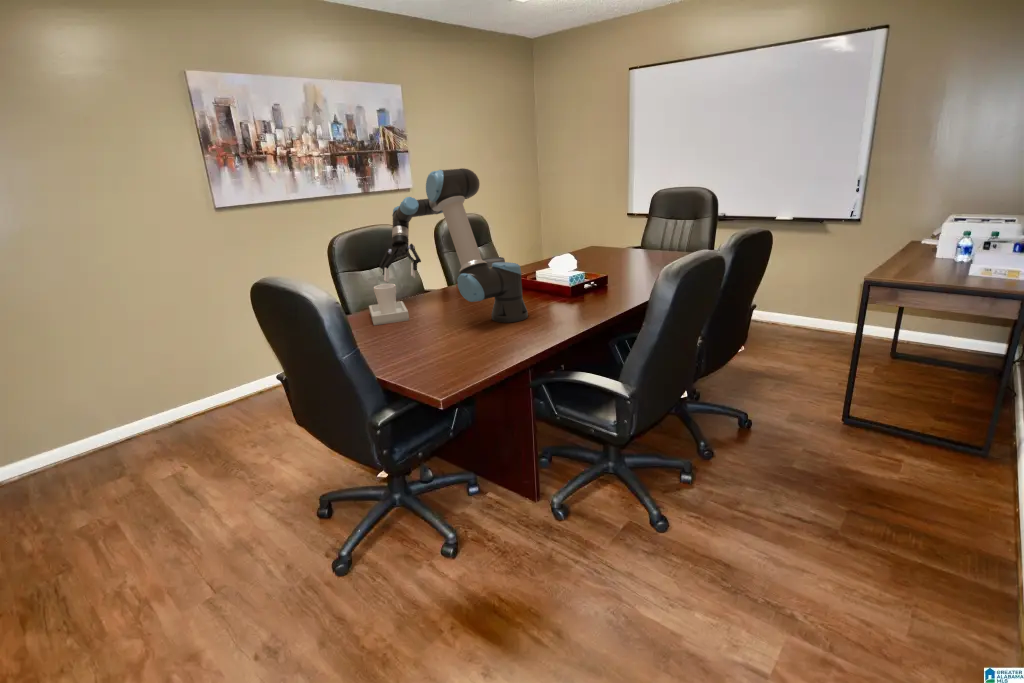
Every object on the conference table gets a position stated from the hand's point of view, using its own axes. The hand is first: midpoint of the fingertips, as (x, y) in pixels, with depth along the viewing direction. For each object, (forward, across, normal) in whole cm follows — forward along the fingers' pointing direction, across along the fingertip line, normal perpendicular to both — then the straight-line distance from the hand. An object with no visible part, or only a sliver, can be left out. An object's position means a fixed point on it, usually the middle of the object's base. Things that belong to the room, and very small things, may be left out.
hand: (399, 279), depth 241 cm
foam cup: (+18, +3, +3) cm, 19 cm away
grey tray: (+19, +4, +2) cm, 19 cm away
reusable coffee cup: (-7, -32, -42) cm, 53 cm away
